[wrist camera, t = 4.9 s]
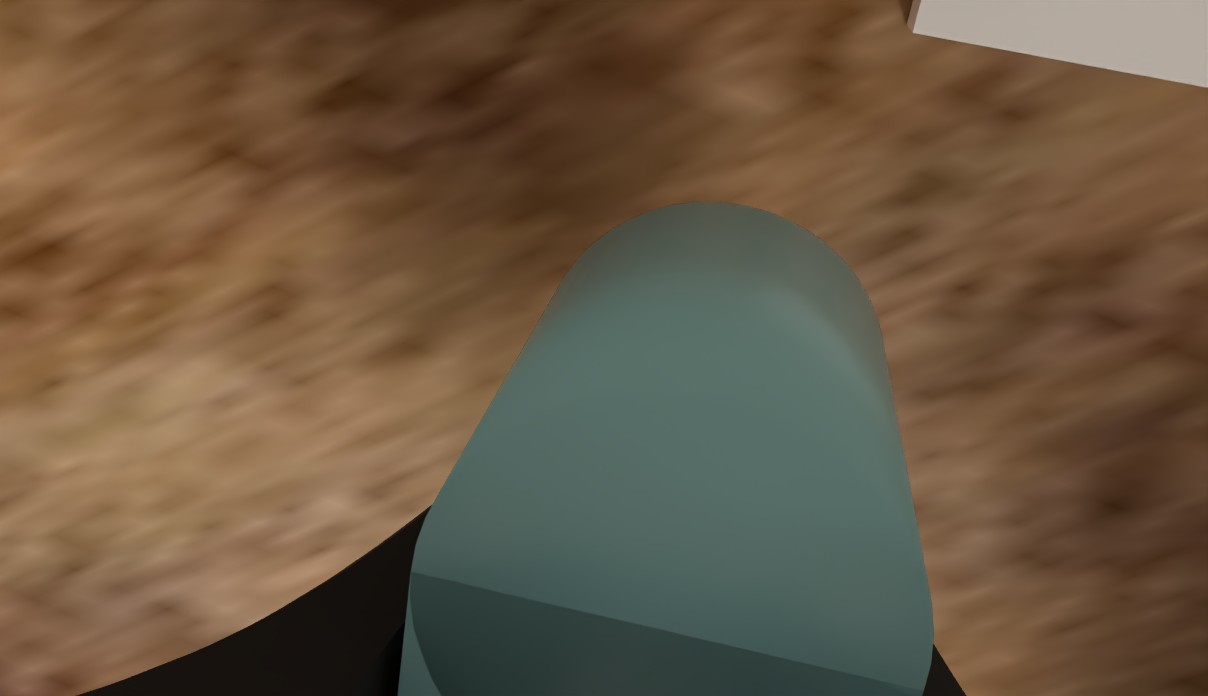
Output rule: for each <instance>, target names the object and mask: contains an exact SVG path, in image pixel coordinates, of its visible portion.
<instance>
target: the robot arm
mask: <svg viewBox="0 0 1208 696" xmlns="http://www.w3.org/2000/svg"><path fill="white" fill-rule="evenodd" d="M432 505H433V504H432ZM432 505H431V506H430V507H428V508H427V509H426V510H425V511H423V512H422V513H421V514H419V515H418V516H417V517H415V518H414V519H413V520H412V521H410V522H409V523H408V524H406V525H405V526H404V527H402V528H401V529H400V530H398V531H397V532H396V533H394V534H393V535H392V536H390V537H389V538H388V539H386V540H385V541H383V542H382V543H381V544H379V545H378V546H377V547H375V548H374V549H372V550H371V551H369V552H368V553H366V554H365V555H364V556H362V557H361V558H359V559H358V560H356V561H355V562H353V563H352V564H351V565H349V566H348V567H346V568H345V569H343V570H342V571H340V572H339V573H337V574H336V575H334V576H333V577H331V578H330V579H328V580H327V581H325V582H324V583H322V584H320V585H319V586H317V587H315V588H314V589H312V590H310V591H309V592H307V593H306V594H304V595H302V596H301V597H299V598H297V599H296V600H294V601H292V602H291V603H289V604H287V605H286V606H284V607H283V608H281V609H279V610H278V611H276V612H274V613H272V614H270V615H269V616H267V617H265V618H263V619H261V620H259V621H258V622H256V623H254V624H252V625H250V626H248V627H246V628H244V629H242V630H240V631H238V632H236V633H234V634H232V635H230V636H228V637H226V638H224V639H221V640H219V641H217V642H215V643H213V644H211V645H209V646H207V647H204V648H202V649H200V650H198V651H195V652H193V653H191V654H188V655H186V656H183V657H180V658H178V659H175V660H173V661H170V662H168V663H165V664H163V665H160V666H158V667H155V668H152V669H150V670H147V671H145V672H142V673H140V674H137V675H135V676H132V677H129V678H127V679H124V680H122V681H119V682H116V683H113V684H111V685H108V686H105V687H102V688H99V689H96V690H92V691H89V692H86V693H83V694H80V695H77V696H398V687H399V677H400V668H401V659H402V649H403V640H404V631H405V621H406V612H407V603H408V593H409V584H410V574H411V568H412V562H413V557H414V552H415V546H416V543H417V540H418V537H419V534H420V531H421V529H422V526H423V523H424V520H425V517H426V516H427V514H428V512H429V510H430V508H431V507H432ZM922 696H966V695H965V693H964V691H963V690H962V688H961V687H960V685H959V684H958V682H957V681H956V679H955V677H954V676H953V674H952V673H951V671H950V670H949V668H948V666H947V665H946V663H945V662H944V660H943V658H942V657H941V655H940V654H939V652H938V650H937V649H936V647H935V645H934V644H933V649H932V660H931V666H930V669H929V673H928V677H927V681H926V684H925V688H924V692H923V695H922Z"/></svg>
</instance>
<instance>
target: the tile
mask: <svg viewBox="0 0 1208 696" xmlns="http://www.w3.org/2000/svg"><path fill="white" fill-rule="evenodd" d="M907 26H908V27H909V29H910V30H911V31H912V33H916V34H921V35H927V36H932V37H938V38H943V39H948V40H954V41H959V42H965V43H970V44H975V45H981V46H986V47H991V48H997V49H1002V50H1008V51H1013V52H1018V53H1024V54H1029V55H1035V56H1040V57H1045V58H1051V59H1056V60H1061V61H1067V62H1072V63H1078V64H1083V65H1088V66H1094V67H1099V68H1105V69H1110V70H1115V71H1121V72H1126V73H1131V74H1137V75H1142V76H1148V77H1153V78H1158V79H1164V80H1169V81H1175V82H1180V83H1185V84H1191V85H1196V86H1202V87H1207V88H1208V0H913V3H912V6H911V10H910V14H909V18H908V21H907Z"/></svg>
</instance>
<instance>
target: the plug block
mask: <svg viewBox="0 0 1208 696" xmlns="http://www.w3.org/2000/svg"><path fill="white" fill-rule="evenodd" d="M933 639H934V627H933V613H932V602H931V597H930V591H929V586H928V580H927V575H926V570H925V564H924V559H923V553H922V548H921V543H920V537H919V532H918V527H917V521H916V516H915V510H914V505H913V500H912V494H911V489H910V483H909V478H908V473H907V467H906V462H905V457H904V451H903V446H902V440H901V435H900V430H899V424H898V419H897V413H896V408H895V403H894V397H893V392H892V387H891V381H890V376H889V370H888V365H887V360H886V354H885V349H884V344H883V339H882V334H881V330H880V326H879V321H878V318H877V316H876V313H875V311H874V308H873V306H872V303H871V300H870V299H869V297H868V295H867V293H866V291H865V290H864V288H863V286H862V284H861V283H860V281H859V279H858V278H857V277H856V275H855V274H854V273H853V272H852V270H851V269H850V268H849V266H848V265H847V264H846V262H845V261H844V260H843V259H842V258H841V257H840V256H839V255H838V254H837V253H836V252H835V251H834V250H833V249H832V248H831V247H830V246H828V245H827V244H826V243H824V242H823V241H822V240H820V239H819V238H818V237H816V236H815V235H814V234H812V233H811V232H810V231H808V230H806V229H804V228H802V227H801V226H799V225H797V224H795V223H794V222H792V221H790V220H788V219H785V218H783V217H780V216H778V215H776V214H773V213H771V212H768V211H765V210H761V209H757V208H753V207H750V206H746V205H740V204H732V203H725V202H692V203H684V204H675V205H671V206H667V207H663V208H659V209H655V210H651V211H649V212H646V213H644V214H641V215H639V216H636V217H634V218H631V219H629V220H627V221H626V222H624V223H622V224H620V225H619V226H617V227H615V228H613V229H611V230H610V231H609V232H607V233H606V234H605V235H603V236H602V237H601V238H599V239H598V240H597V241H595V242H594V243H593V244H592V245H591V246H590V247H589V248H588V249H587V250H586V251H585V252H584V253H583V254H582V255H581V256H580V257H579V258H578V259H577V260H576V262H575V263H574V264H573V266H572V267H571V268H570V270H569V271H568V272H567V274H566V275H565V276H564V278H563V280H562V282H561V283H560V285H559V287H558V289H557V290H556V292H555V294H554V295H553V297H552V299H551V301H550V302H549V304H548V306H547V308H546V309H545V311H544V313H543V314H542V316H541V318H540V320H539V321H538V323H537V325H536V326H535V328H534V330H533V332H532V333H531V335H530V337H529V339H528V340H527V342H526V344H525V345H524V347H523V349H522V351H521V352H520V354H519V356H518V358H517V359H516V361H515V363H514V364H513V366H512V368H511V370H510V371H509V373H508V375H507V376H506V378H505V380H504V382H503V383H502V385H501V387H500V389H499V390H498V392H497V394H496V395H495V397H494V399H493V401H492V402H491V404H490V406H489V408H488V409H487V411H486V413H485V414H484V416H483V418H482V420H481V421H480V423H479V425H478V426H477V428H476V430H475V432H474V433H473V435H472V437H471V439H470V440H469V442H468V444H467V445H466V447H465V449H464V451H463V452H462V454H461V456H460V458H459V459H458V461H457V463H456V464H455V466H454V468H453V470H452V471H451V473H450V475H449V476H448V478H447V480H446V482H445V483H444V485H443V487H442V489H441V490H440V492H439V494H438V496H437V497H436V499H435V501H434V503H433V505H432V507H431V508H430V510H429V512H428V514H427V516H426V517H425V520H424V523H423V526H422V529H421V531H420V534H419V537H418V540H417V543H416V546H415V552H414V557H413V562H412V568H411V574H410V584H409V593H408V603H407V612H406V621H405V631H404V640H403V649H402V659H401V668H400V677H399V687H398V696H922V695H923V692H924V688H925V684H926V681H927V677H928V673H929V669H930V666H931V660H932V649H933Z"/></svg>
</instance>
